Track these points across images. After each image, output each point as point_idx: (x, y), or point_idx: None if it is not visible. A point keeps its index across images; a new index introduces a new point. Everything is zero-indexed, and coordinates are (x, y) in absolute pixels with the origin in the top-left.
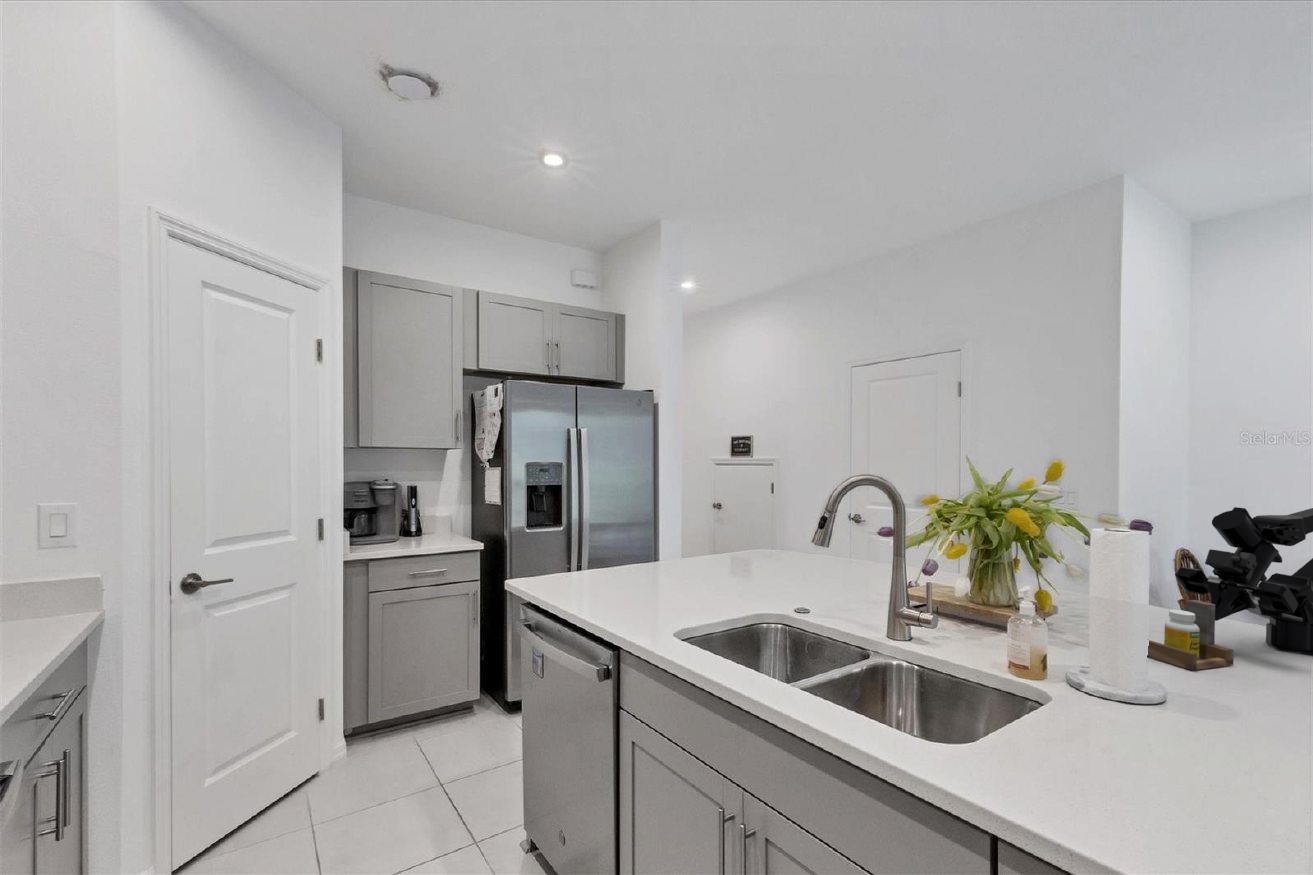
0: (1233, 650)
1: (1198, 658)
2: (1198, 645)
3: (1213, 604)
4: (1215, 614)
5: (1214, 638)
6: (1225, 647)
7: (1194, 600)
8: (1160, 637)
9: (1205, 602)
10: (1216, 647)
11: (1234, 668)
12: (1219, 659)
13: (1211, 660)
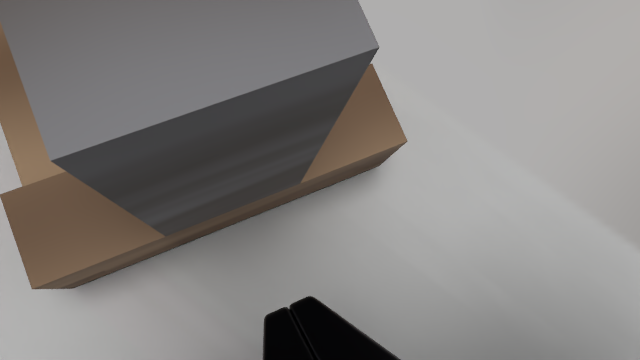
0: (32, 286)
1: None
2: None
3: (45, 122)
4: (281, 341)
5: (158, 231)
6: (84, 262)
7: (334, 9)
8: (614, 248)
9: (200, 91)
10: (75, 181)
11: None
12: (30, 164)
13: (4, 90)
